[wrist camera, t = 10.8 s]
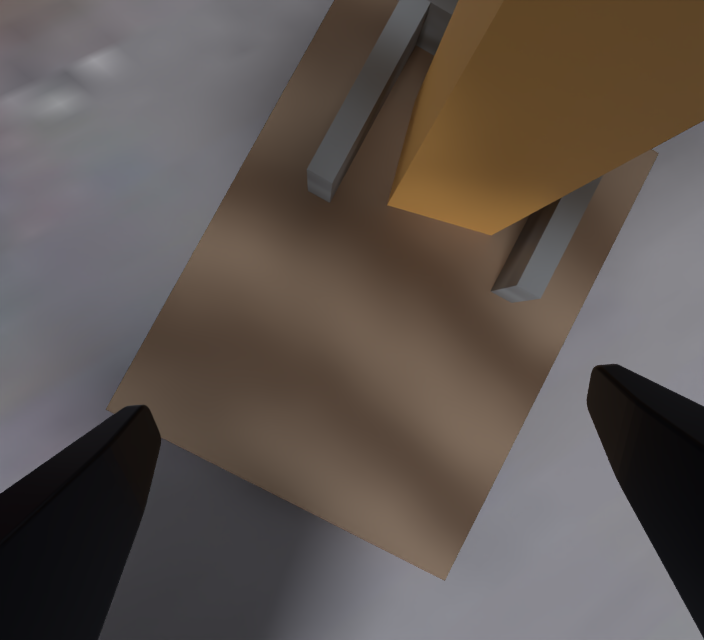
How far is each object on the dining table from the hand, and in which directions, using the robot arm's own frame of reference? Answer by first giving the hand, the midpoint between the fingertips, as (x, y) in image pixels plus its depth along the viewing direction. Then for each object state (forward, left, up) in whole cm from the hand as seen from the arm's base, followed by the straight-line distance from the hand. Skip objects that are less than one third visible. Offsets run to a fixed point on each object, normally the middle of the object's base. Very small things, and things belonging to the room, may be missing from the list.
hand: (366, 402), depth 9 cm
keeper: (+4, 0, -10) cm, 11 cm away
